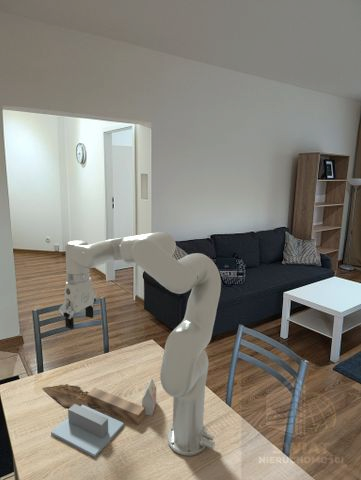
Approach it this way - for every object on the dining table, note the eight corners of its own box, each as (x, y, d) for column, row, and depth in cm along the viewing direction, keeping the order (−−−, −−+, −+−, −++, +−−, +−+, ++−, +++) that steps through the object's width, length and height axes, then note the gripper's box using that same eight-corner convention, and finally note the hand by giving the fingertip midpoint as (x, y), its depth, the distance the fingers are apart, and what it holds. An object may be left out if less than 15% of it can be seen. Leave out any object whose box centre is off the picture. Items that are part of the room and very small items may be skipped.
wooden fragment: (107, 398, 121) (107, 396, 121) (88, 418, 111) (87, 416, 111) (55, 379, 132) (55, 377, 131) (33, 395, 122) (33, 393, 122)
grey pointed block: (142, 414, 114) (142, 389, 111) (146, 401, 120) (146, 376, 118) (152, 415, 113) (152, 390, 111) (156, 402, 120) (156, 377, 118)
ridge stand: (123, 425, 108) (123, 409, 107) (95, 457, 96) (94, 440, 95) (82, 407, 116) (82, 392, 115) (51, 434, 104) (50, 418, 103)
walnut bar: (144, 417, 112) (144, 407, 111) (138, 425, 109) (138, 415, 108) (94, 397, 122) (94, 387, 121) (87, 403, 118) (86, 394, 117)
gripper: (67, 286, 103) (69, 335, 107) (103, 271, 119) (104, 315, 122) (50, 281, 107) (53, 329, 110) (87, 268, 122) (88, 311, 126)
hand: (79, 322), depth 116 cm, fingers open, 9 cm apart
